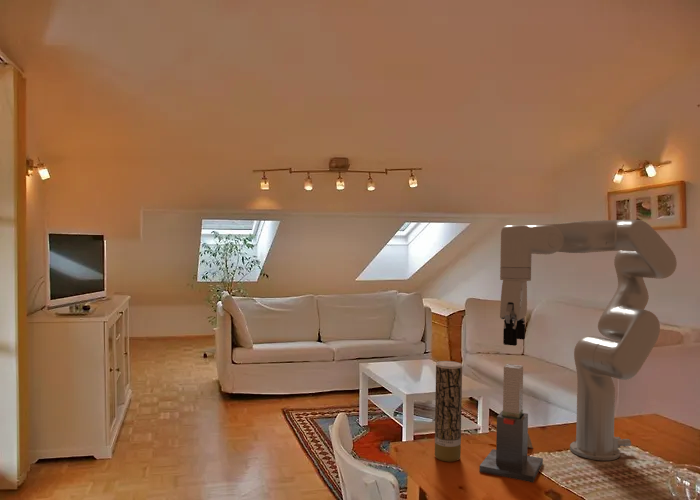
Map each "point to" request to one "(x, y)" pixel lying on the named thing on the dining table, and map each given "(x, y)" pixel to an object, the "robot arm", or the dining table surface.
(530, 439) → the decorative ornament
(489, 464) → the stand
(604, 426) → the robot arm
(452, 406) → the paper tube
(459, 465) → the dining table surface
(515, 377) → the column
